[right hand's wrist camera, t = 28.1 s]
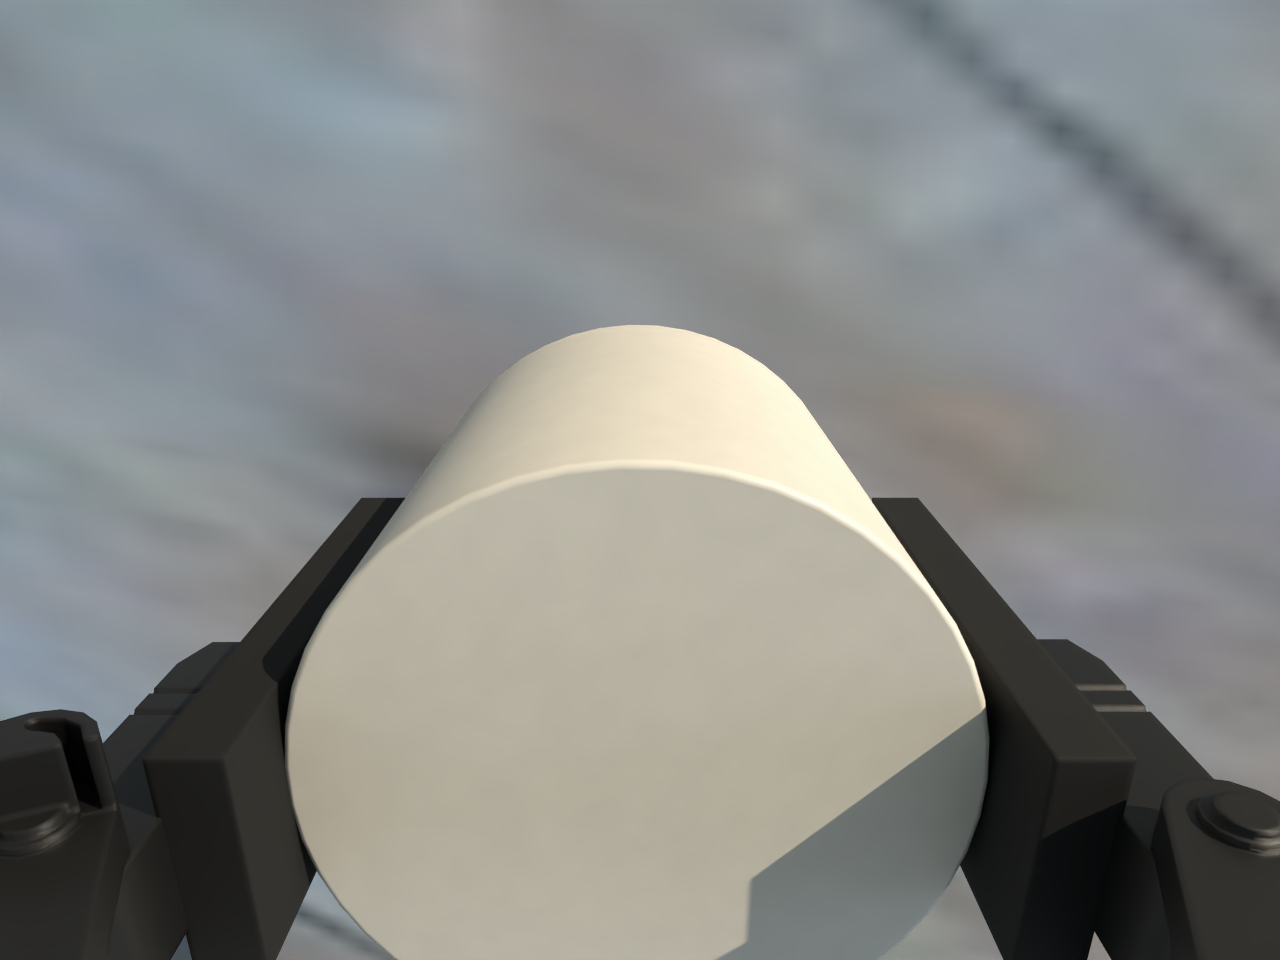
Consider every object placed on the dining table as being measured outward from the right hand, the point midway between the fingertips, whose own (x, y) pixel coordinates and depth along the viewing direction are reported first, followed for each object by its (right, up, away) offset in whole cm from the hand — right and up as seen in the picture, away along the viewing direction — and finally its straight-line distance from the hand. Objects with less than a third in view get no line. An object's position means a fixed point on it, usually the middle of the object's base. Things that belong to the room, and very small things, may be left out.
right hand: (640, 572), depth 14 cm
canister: (0, +1, +2) cm, 2 cm away
